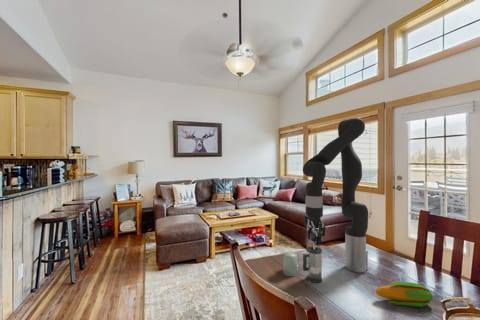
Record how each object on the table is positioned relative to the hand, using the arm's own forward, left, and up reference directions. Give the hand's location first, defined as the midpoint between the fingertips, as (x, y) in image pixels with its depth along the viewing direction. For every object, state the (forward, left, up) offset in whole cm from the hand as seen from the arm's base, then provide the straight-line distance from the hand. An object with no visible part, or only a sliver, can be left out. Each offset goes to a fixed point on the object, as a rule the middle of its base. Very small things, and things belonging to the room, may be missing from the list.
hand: (314, 241), depth 101 cm
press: (0, 0, -17) cm, 17 cm away
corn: (-24, +23, -18) cm, 38 cm away
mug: (+8, -8, -17) cm, 21 cm away
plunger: (0, 0, -10) cm, 10 cm away
